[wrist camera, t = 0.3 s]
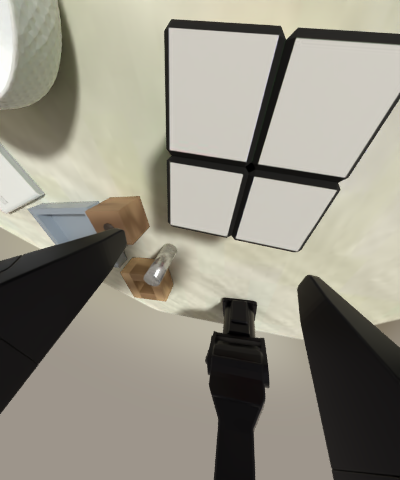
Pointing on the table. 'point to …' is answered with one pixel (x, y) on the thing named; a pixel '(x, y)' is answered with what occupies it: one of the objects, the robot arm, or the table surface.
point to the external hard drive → (15, 184)
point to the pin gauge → (160, 265)
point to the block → (120, 216)
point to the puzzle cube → (269, 124)
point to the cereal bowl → (28, 50)
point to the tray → (67, 222)
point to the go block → (138, 286)
